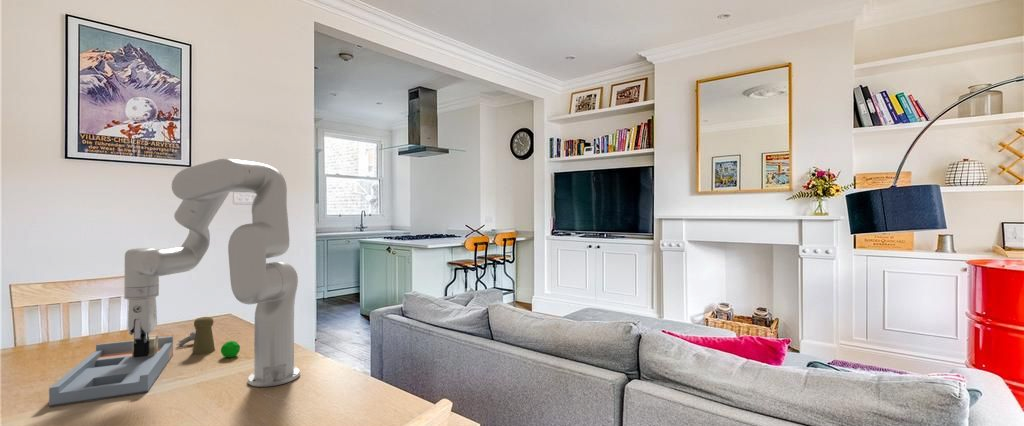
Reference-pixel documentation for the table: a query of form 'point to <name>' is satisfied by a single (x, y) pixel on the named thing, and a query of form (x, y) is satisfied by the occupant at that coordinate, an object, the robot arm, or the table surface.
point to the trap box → (111, 373)
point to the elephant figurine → (187, 339)
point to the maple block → (152, 346)
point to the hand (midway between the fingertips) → (141, 355)
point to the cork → (203, 336)
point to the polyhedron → (230, 349)
